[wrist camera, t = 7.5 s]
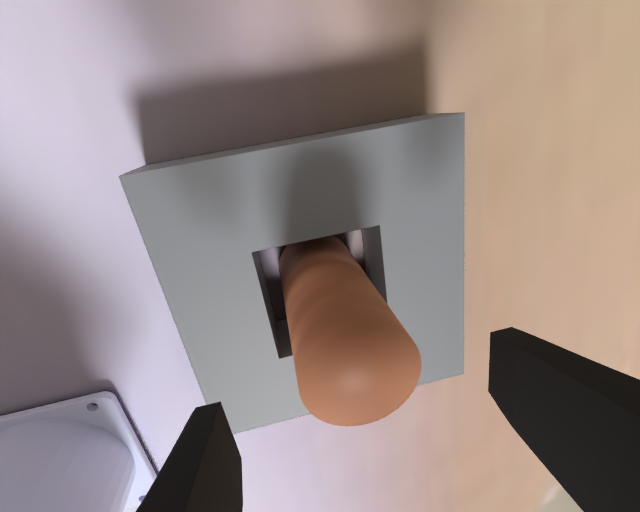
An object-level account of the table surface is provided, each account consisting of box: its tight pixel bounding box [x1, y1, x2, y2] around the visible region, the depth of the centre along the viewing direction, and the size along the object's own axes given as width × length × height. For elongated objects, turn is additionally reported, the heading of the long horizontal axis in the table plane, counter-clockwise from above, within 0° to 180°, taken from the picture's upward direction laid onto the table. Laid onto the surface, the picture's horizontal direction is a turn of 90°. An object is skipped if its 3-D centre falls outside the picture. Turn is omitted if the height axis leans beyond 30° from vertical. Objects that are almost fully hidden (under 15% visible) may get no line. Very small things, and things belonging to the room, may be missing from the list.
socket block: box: [119, 113, 465, 434], centre depth 15 cm, size 12×12×3 cm
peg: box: [279, 235, 421, 426], centre depth 13 cm, size 4×4×8 cm
